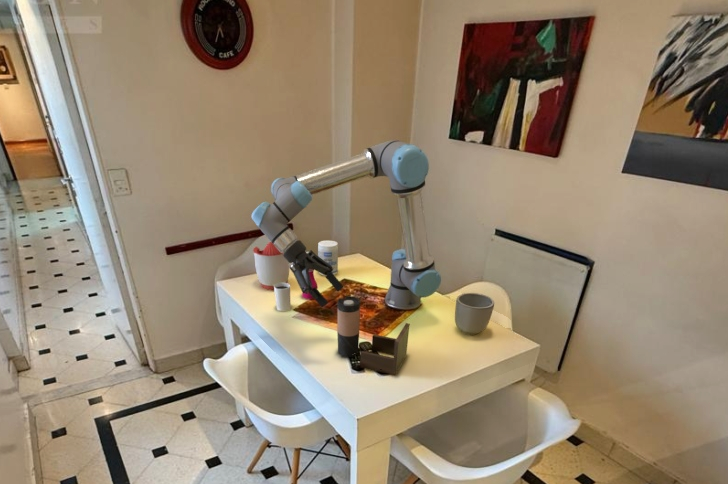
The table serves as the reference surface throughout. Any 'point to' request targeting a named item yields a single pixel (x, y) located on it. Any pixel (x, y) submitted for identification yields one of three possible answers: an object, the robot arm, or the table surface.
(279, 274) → the citrus juicer
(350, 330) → the travel mug
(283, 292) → the white cup
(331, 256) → the supplement tub
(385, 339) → the shelf rack
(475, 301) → the planter
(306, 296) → the pepper mill
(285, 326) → the table surface
